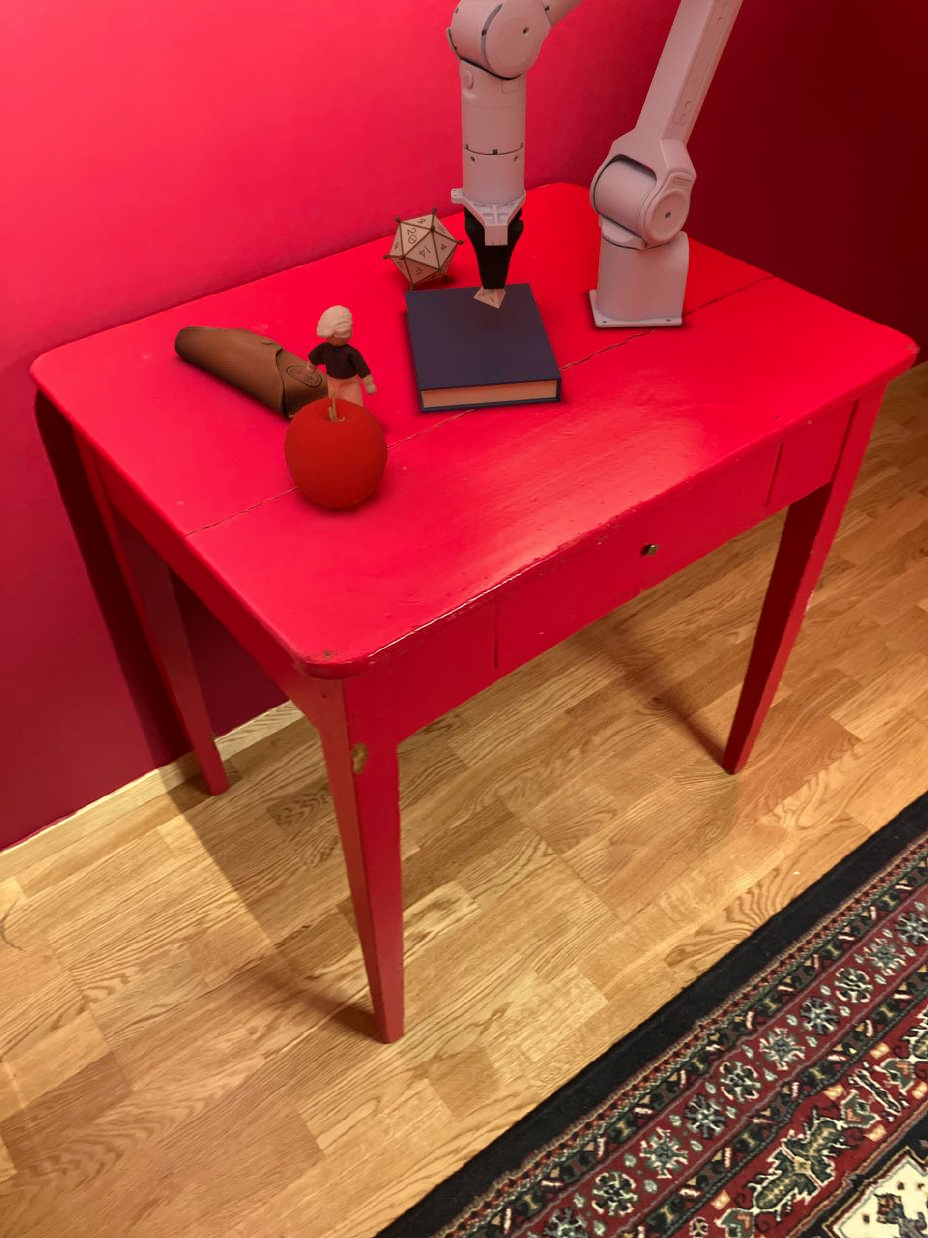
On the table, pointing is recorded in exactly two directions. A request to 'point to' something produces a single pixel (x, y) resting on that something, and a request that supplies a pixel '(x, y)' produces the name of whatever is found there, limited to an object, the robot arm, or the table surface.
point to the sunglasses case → (253, 366)
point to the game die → (423, 249)
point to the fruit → (335, 452)
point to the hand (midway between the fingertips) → (493, 283)
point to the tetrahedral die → (490, 296)
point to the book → (480, 350)
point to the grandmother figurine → (340, 357)
